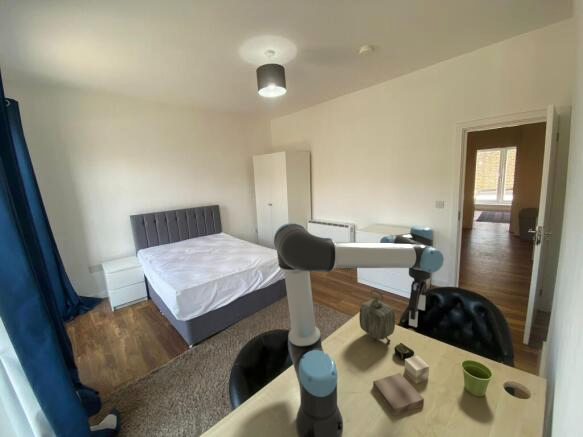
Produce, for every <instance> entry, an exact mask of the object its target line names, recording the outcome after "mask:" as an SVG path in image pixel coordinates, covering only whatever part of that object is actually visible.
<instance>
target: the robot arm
mask: <svg viewBox="0 0 583 437" xmlns="http://www.w3.org/2000/svg"><path fill="white" fill-rule="evenodd" d="M433 241H434V231H433V229H432V228H431V227H429V226H426V225H425V226H424V225H423V226H422V225H417V226H416V225H415V226H412V227H410V231H409V233H404V234H402V233H401V234H395V235H392V234H389V235H387V236H383V237H382V238H381V239H380V241H379V242H359V241H358V242H352V241H334V239H333V238H329V237H321V236H316V235H314V234H311V233H310V232H309V230H307V229H306V228H305V227H304V226H302V225H301V224H298V223H295V222H288V223H285V224H283V225H281V226H280V227H279V228H278V229H277V230H276V232H275V233H274V237H273V245H274V246H275V250H276V254H277V260H278V261H277V262H278V267H279V269H281V270H283V273H284V274H283V275H284V281H285V288H286V296H287V303H288V312H289V318H290V319H289V320H290V328H291V329H290V330H289V332H288V339H287V348H288V353H289V355H290V358H291V361H292V365H293V367H294V371H295V374H296V378H297V381H298V385H299V392H300V393H299V395H300V405H299V407H298V411H297V413H296V417H295V418H296V420H295V422H296V423H295V425H296V432H297V435H298V437H343V433H344V421H343V416H342V414H341V411H340V408H339V406H338V371H337V370H338V369H337V365H336V363H335V360H334V359H333V357H331V356H330V355H329V353H325V351H324V349H323V346H322V337H321V331H320V329H319V328H318V327H317V326H316V322H315V312H314V311H315V310H314V301H313V293H312V284H311V282H312V281H311V275H310V272H325V273H327V272H333V270H334V269H408V276H409V277H410V278H412V279H413V280H412V283H411V285H410V295H409V296H410V297H409V301H408V307H407V308H406V310H408V312H409V315H408V316H409V317H408V326H411V327H413V328H417V327H418V318H419V317H418V316H419V310H421V311H425V310H426V298H427V297H426V296H428V295H429V292H428V287H427V286H428V285H427V280H429V279H431V275H432V274H434V273H437V272H438V271H440V270H441V268H442V267H443V265H444V260H445V259H444V255H443V253H442V252H441V251H440V250H439V249H437V248H435V247H433V244H434V242H433Z"/></svg>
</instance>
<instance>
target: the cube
mask: <svg viewBox="0 0 583 437" xmlns="http://www.w3.org/2000/svg"><path fill="white" fill-rule="evenodd" d="M404 373H405V375H407V377H409V378H410V380H412V381H413V383H414V384H419V383H423V382H425V381H428V380H429V377H430V376H429V375H430V365H428V363H426V362H425V361H424V360H423V359H422V358H421V357H420V356H418V355H414V356H412V357H411V358H408V359H405V360H404Z"/></svg>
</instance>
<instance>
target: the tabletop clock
mask: <svg viewBox="0 0 583 437" xmlns="http://www.w3.org/2000/svg"><path fill="white" fill-rule="evenodd" d="M373 292H374V293H377V294H379V295H380V296H381V298H379V297H378V296H374V295H373ZM370 296H371V297H372V298H373V299H370V300H368V301H366V302H363V303H362V304H361V305H360V307H359V308H360V309H359V316H358V317H359V318H358V319H359V327H360V329H361V330H362V331H364V332H365V333H366V334H368V335H369V336H371V338H370V339H371V342H374V341H375V339H376V340H381V341H382V340H385V339H386V342H387V343H388V344H389V343H391V340H390V338H388V337H389V336H391V335H392V334H394V332H395V329H396V328H395V327H396V315H395V310H394V309H393V308H392V307H391V306H390V305H388V304H386V303H385V302H383V300H384V296H383V294H382V293H381V292H379V291H378V290H376V289H375V290H374V289H373V290H371V291H370Z"/></svg>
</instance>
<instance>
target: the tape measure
mask: <svg viewBox="0 0 583 437" xmlns="http://www.w3.org/2000/svg"><path fill="white" fill-rule="evenodd" d="M394 354H395V356H396V357H398V358H399V359H401V360H404V361H405V359H408V358H411V357H414V356H415V351H414V350H412V349H411V348H410V347H408V346H407V345H405V344H403V343H402V342H400V343H399V344H396V346H395V347H394Z"/></svg>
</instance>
